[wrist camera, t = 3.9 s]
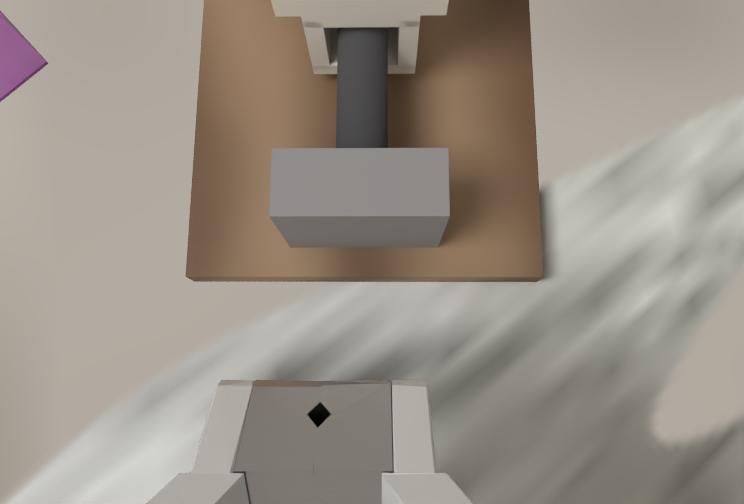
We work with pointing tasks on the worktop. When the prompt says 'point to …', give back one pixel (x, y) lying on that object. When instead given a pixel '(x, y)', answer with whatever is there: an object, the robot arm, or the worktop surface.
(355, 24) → the sleeve
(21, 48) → the bracket
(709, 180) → the worktop surface
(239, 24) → the board
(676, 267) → the worktop surface
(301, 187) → the dark grey bar
